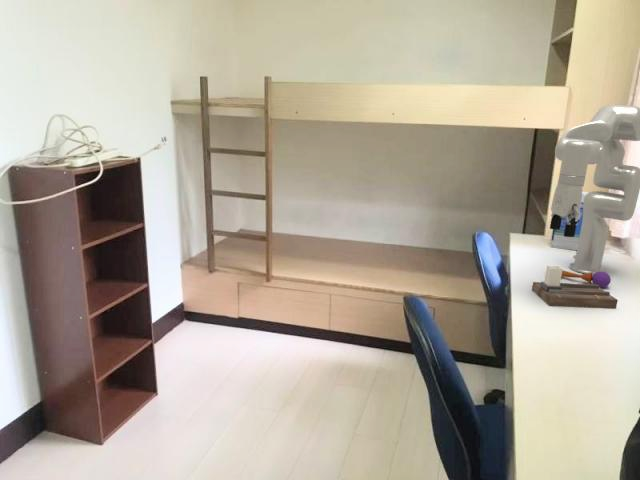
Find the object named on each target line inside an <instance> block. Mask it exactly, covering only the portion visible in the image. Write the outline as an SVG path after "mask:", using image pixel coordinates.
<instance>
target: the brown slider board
mask: <svg viewBox="0 0 640 480" xmlns="http://www.w3.org/2000/svg"><path fill="white" fill-rule="evenodd" d="M541 282H542V281H537V282H536V281H533V282H532V287H531V291H532V292H533V293H534V294H535V295H536V296H538V297H539V298H540V299H541V300H542V301H543V302H544V303H545V304H547V305H548V306H549V307H567V308H570V307H571V308H590V309H591V308H592V309H594V308H595V309H617V306H618V301H619V300H618V299H617V298H615V297H614V296H612V295H611V292H610V291H605V290H604V289H603V288H600V287H599V285H596V284H593V283H591V284H590V283H579V282H578V283H569V282H567V283H566V282H565V283H563V282H560V286H561V287H562V290H558V289H549V291H546V290H544V289H543V288H542V287H541Z"/></svg>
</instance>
